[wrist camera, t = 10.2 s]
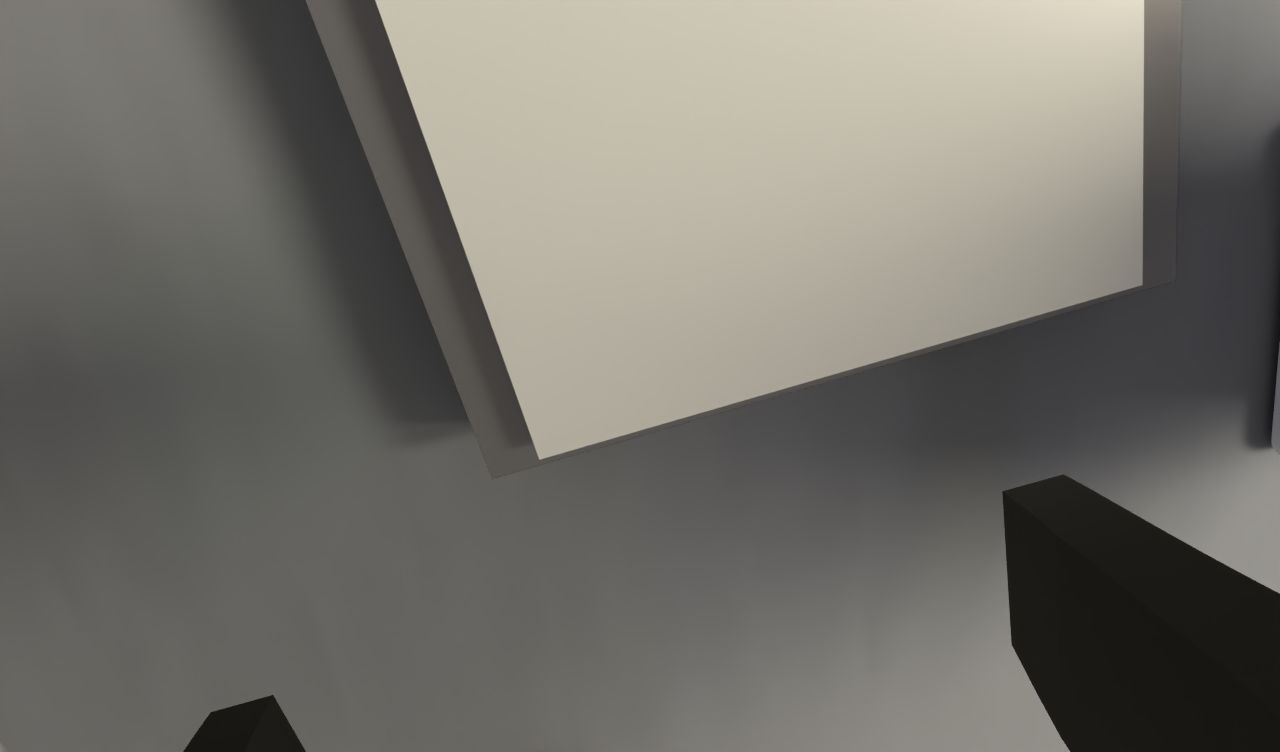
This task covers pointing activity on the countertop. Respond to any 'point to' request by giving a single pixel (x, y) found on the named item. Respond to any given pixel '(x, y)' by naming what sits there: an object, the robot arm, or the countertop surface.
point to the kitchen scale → (750, 188)
